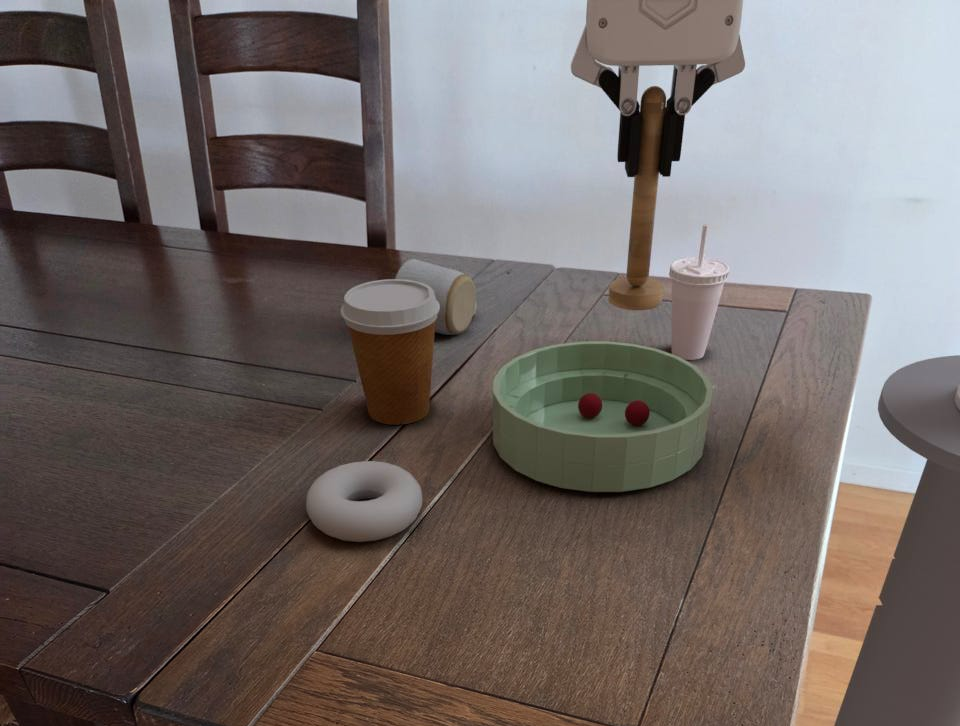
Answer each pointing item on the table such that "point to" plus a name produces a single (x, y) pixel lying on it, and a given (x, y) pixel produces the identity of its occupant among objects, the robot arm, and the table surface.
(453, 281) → the ceramic mug
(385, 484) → the donut
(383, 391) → the disposable coffee cup
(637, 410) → the cherry
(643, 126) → the stirrer
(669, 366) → the bowl
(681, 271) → the smoothie
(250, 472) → the table surface
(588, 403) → the cherry
